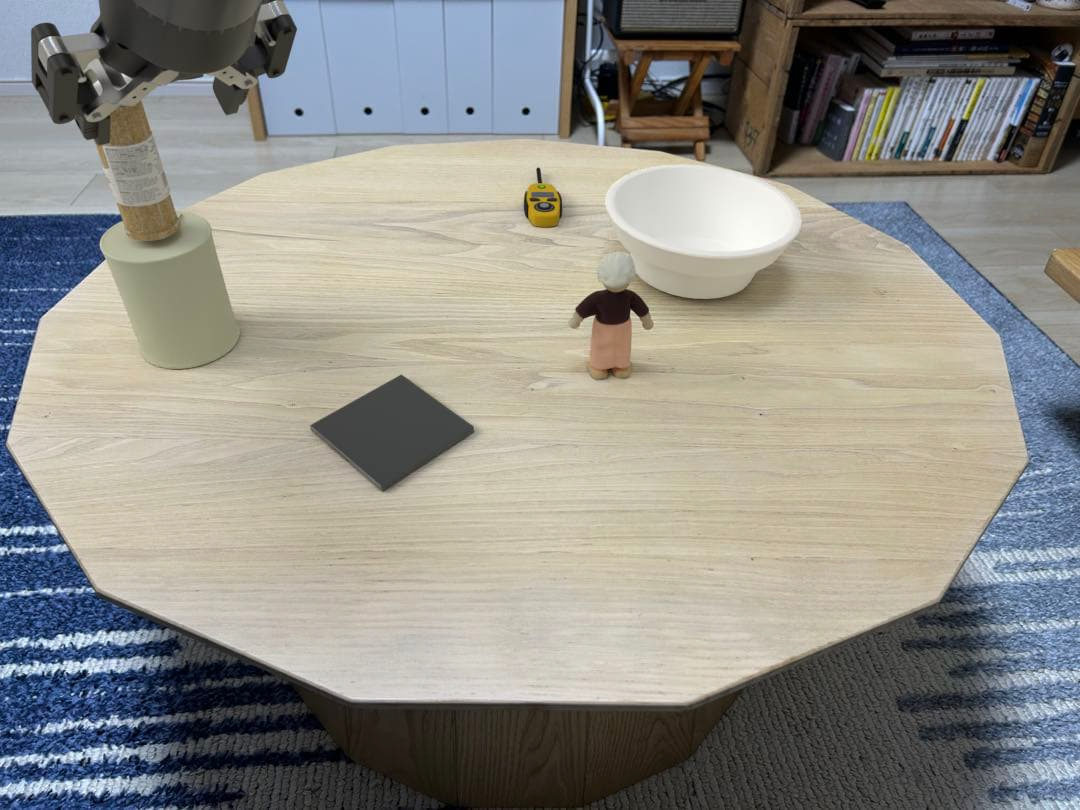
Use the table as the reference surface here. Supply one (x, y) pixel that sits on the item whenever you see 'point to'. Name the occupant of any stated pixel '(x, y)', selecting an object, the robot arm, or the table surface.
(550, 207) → the yellow walkie talkie
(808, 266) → the table surface
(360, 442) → the slate coaster
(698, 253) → the bowl
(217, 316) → the can
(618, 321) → the grandmother figurine
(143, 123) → the sprinkles bottle
